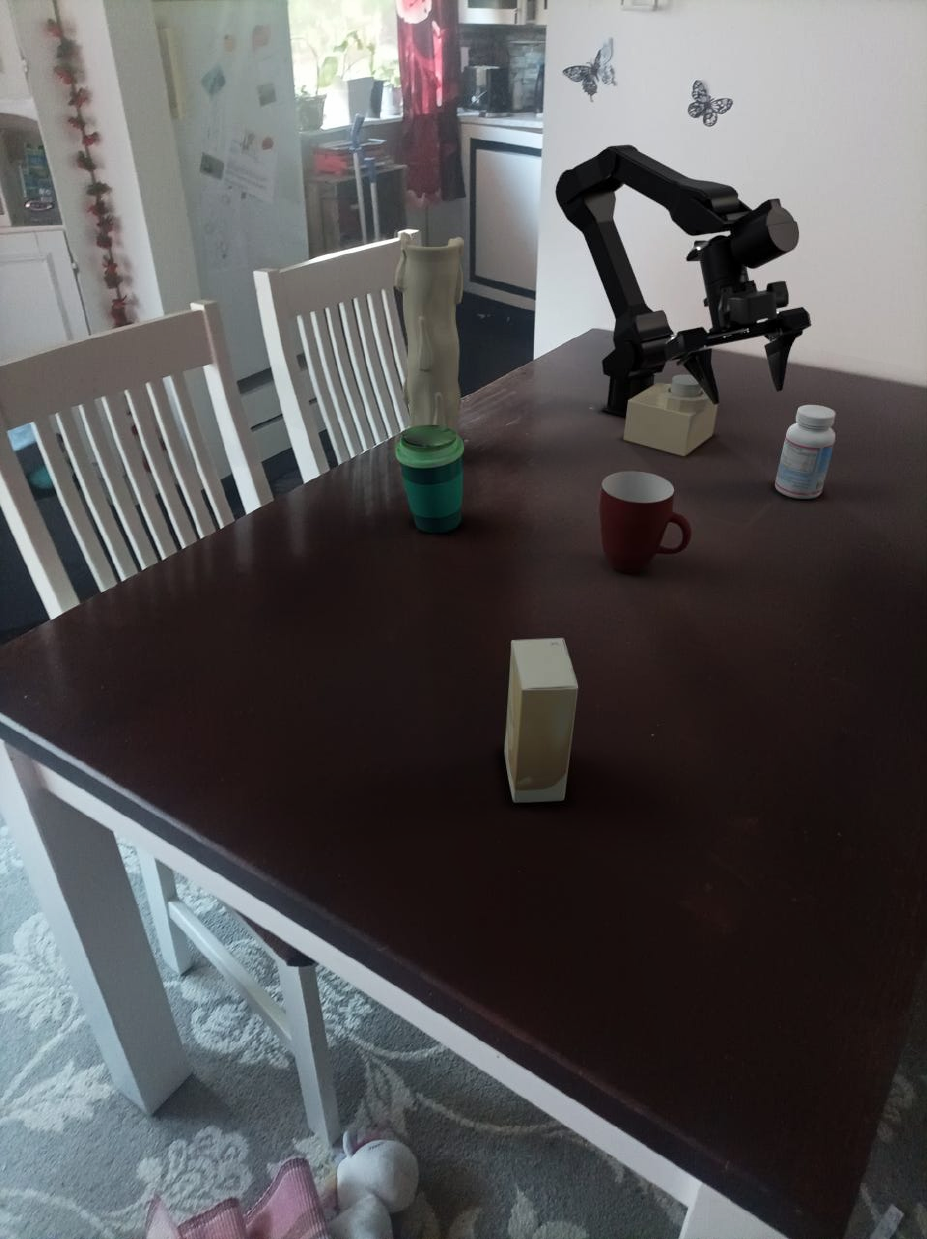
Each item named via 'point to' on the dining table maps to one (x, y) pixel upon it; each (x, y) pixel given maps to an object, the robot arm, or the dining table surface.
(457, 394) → the vase
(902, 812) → the dining table surface
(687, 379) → the cylinder
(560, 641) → the cosmetic box
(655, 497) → the mug
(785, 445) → the pill bottle
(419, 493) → the cup
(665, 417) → the block
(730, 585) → the dining table surface
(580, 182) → the robot arm
